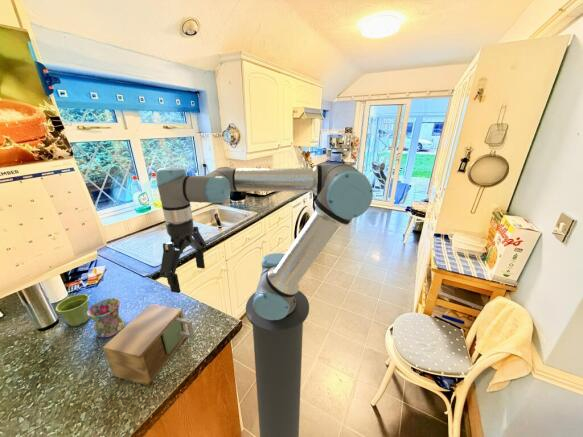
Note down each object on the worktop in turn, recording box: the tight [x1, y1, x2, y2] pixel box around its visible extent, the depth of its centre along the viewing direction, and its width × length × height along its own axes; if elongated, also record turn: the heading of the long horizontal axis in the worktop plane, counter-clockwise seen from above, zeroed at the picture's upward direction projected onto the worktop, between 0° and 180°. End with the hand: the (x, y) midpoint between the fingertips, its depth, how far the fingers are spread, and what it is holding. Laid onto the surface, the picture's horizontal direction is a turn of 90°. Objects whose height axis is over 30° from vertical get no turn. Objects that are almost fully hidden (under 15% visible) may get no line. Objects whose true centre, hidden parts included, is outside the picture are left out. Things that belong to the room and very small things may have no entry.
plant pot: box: [55, 293, 91, 327], centre depth 89 cm, size 9×9×9 cm
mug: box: [87, 297, 126, 339], centre depth 83 cm, size 12×9×11 cm
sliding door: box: [162, 316, 195, 354], centre depth 77 cm, size 6×7×10 cm
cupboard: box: [102, 303, 187, 386], centre depth 75 cm, size 12×18×12 cm
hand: (189, 278), depth 78 cm, fingers open, 13 cm apart
